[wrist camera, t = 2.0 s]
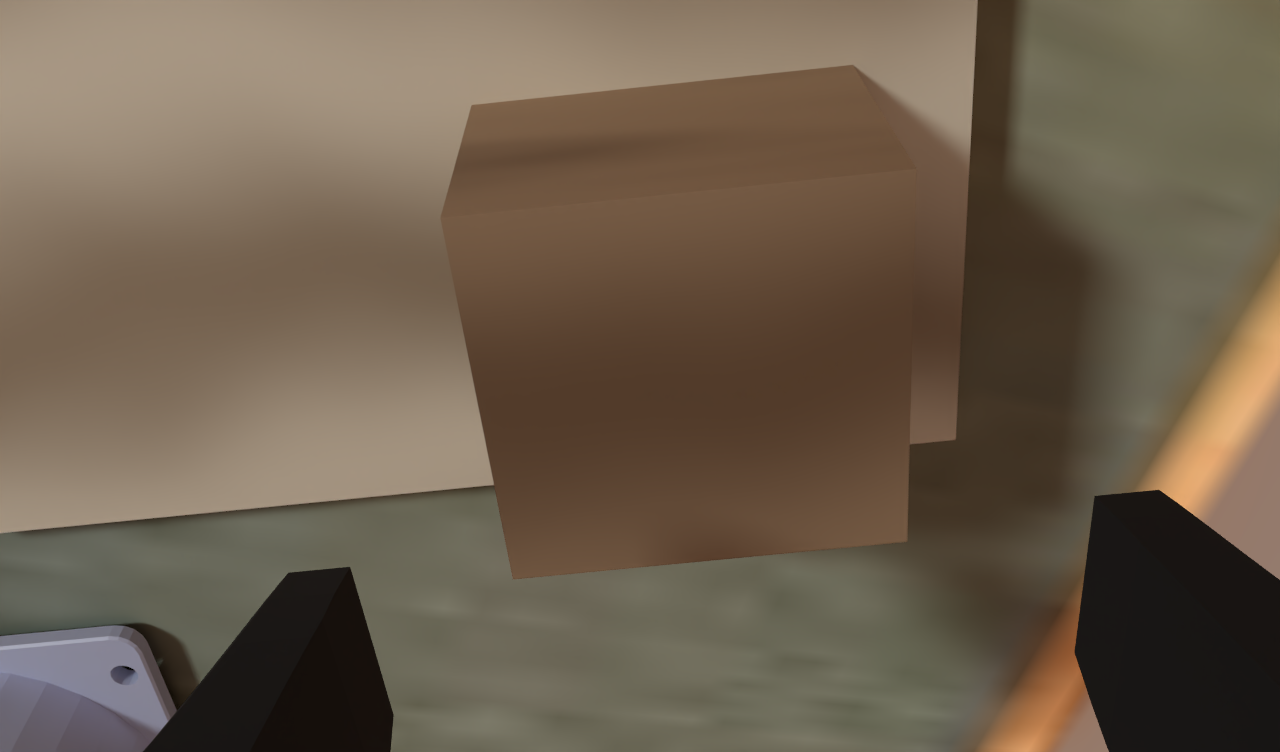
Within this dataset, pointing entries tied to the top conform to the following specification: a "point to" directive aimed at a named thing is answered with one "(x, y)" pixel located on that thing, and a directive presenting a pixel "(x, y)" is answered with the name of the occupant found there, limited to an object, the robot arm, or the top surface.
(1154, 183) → the top surface
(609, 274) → the walnut block
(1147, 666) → the robot arm
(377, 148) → the beige flat square
